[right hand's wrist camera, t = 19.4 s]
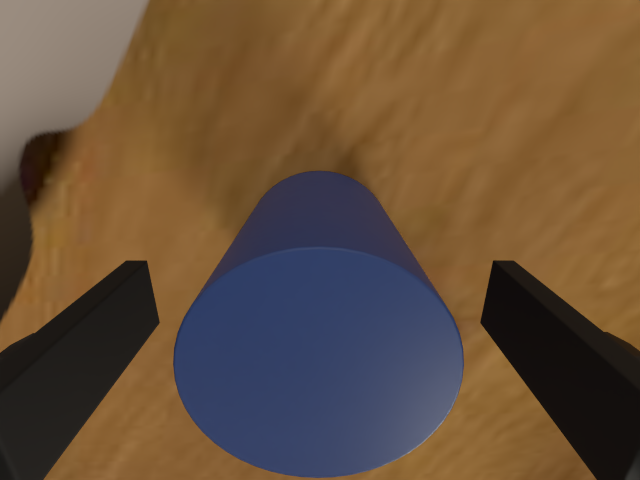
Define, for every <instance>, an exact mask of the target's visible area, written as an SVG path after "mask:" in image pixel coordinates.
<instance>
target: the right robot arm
mask: <svg viewBox="0 0 640 480" xmlns="http://www.w3.org/2000/svg"><path fill="white" fill-rule="evenodd" d="M159 323H160V322H159V317H158V313H157V308H156V303H155V298H154V293H153V288H152V283H151V279H150V274H149V269H148V264H147V261H125V262H124V263H123V264H121V265H120V266H119V267H118V268H116V269H115V270H114V271H113V272H111V273H110V274H109V275H108V276H106V277H105V278H104V279H103V280H101V281H100V282H99V283H97V284H96V285H95V286H94V287H92V288H91V289H90V290H89V291H87V292H86V293H85V294H84V295H82V296H81V297H80V298H79V299H77V300H76V301H75V302H74V303H72V304H71V305H70V306H68V307H67V308H66V309H65V310H63V311H62V312H61V313H60V314H58V315H57V316H56V317H55V318H53V319H52V320H51V321H50V322H48V323H47V324H46V325H45V326H43V327H42V328H41V329H40V330H38V331H37V332H36V333H33V334H31V335H29V336H27V337H25V338H23V339H21V340H19V341H17V342H15V343H13V344H12V345H10V346H9V347H7V348H6V349H5V350H3V351H2V352H1V353H0V480H43V479H44V478H45V476H46V475H47V474H48V472H49V471H50V470H51V468H52V467H53V466H54V464H55V463H56V462H57V460H58V459H59V457H60V456H61V455H62V453H63V452H64V451H65V449H66V448H67V447H68V445H69V444H70V443H71V441H72V440H73V439H74V437H75V436H76V435H77V433H78V432H79V431H80V429H81V428H82V427H83V425H84V424H85V422H86V421H87V420H88V418H89V417H90V416H91V414H92V413H93V412H94V410H95V409H96V408H97V406H98V405H99V404H100V402H101V401H102V400H103V398H104V397H105V396H106V394H107V393H108V392H109V390H110V389H111V387H112V386H113V385H114V383H115V382H116V381H117V379H118V378H119V377H120V375H121V374H122V373H123V371H124V370H125V369H126V367H127V366H128V365H129V363H130V362H131V361H132V359H133V358H134V357H135V355H136V354H137V353H138V351H139V350H140V348H141V347H142V346H143V344H144V343H145V342H146V340H147V339H148V338H149V336H150V335H151V334H152V332H153V331H154V330H155V328H156V327H157V326H158V324H159ZM480 323H481V324H482V326H483V327H484V328H485V330H486V331H487V332H488V334H489V335H490V336H491V338H492V339H493V340H494V342H495V343H496V344H497V346H498V347H499V348H500V350H501V351H502V353H503V354H504V355H505V357H506V358H507V359H508V361H509V362H510V363H511V365H512V366H513V367H514V369H515V370H516V371H517V373H518V374H519V375H520V377H521V378H522V379H523V381H524V382H525V383H526V385H527V386H528V388H529V389H530V390H531V392H532V393H533V394H534V396H535V397H536V398H537V400H538V401H539V402H540V404H541V405H542V406H543V408H544V409H545V410H546V412H547V413H548V414H549V416H550V417H551V418H552V420H553V421H554V423H555V424H556V425H557V427H558V428H559V429H560V431H561V432H562V433H563V435H564V436H565V437H566V439H567V440H568V441H569V443H570V444H571V445H572V447H573V448H574V449H575V451H576V452H577V453H578V455H579V456H580V457H581V459H582V460H583V462H584V463H585V464H586V466H587V467H588V468H589V470H590V471H591V472H592V474H593V475H594V476H595V478H596V479H597V480H640V351H639V350H637V349H636V348H635V347H633V346H632V345H631V344H629V343H627V342H626V341H624V340H622V339H620V338H618V337H616V336H614V335H612V334H610V333H608V332H603V331H602V330H600V329H599V328H598V327H597V326H595V325H594V324H593V323H592V322H590V321H589V320H588V319H587V318H585V317H584V316H583V315H582V314H580V313H579V312H578V311H577V310H575V309H574V308H573V307H571V306H570V305H569V304H568V303H566V302H565V301H564V300H563V299H561V298H560V297H559V296H558V295H556V294H555V293H554V292H553V291H551V290H550V289H549V288H548V287H546V286H545V285H544V284H543V283H541V282H540V281H539V280H537V279H536V278H535V277H534V276H532V275H531V274H530V273H529V272H527V271H526V270H525V269H524V268H522V267H521V266H520V265H519V264H517V263H516V262H515V261H493V264H492V269H491V274H490V279H489V283H488V288H487V293H486V298H485V303H484V308H483V312H482V317H481V322H480Z"/></svg>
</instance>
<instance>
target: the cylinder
mask: <svg viewBox="0 0 640 480" xmlns="http://www.w3.org/2000/svg"><path fill="white" fill-rule="evenodd" d="M173 365H174V375H175V382H176V385H177V389H178V393H179V395H180V398H181V400H182V402H183V404H184V407H185V409H186V410H187V412H188V413H189V415H190V416H191V418H192V420H193V421H194V422H195V423H196V425H197V426H198V427H199V428H200V429H201V431H202V432H203V433H204V434H205V435H206V436H208V437H209V438H210V439H211V440H212V441H213V442H214V443H215V444H217V445H218V446H219V447H221V448H222V449H224V450H225V451H226V452H228V453H230V454H231V455H233V456H235V457H237V458H238V459H240V460H242V461H245V462H247V463H249V464H251V465H254V466H256V467H259V468H262V469H265V470H268V471H272V472H276V473H280V474H285V475H291V476H298V477H313V478H324V477H339V476H346V475H352V474H357V473H361V472H366V471H369V470H372V469H375V468H378V467H381V466H384V465H386V464H388V463H390V462H393V461H395V460H397V459H399V458H400V457H402V456H404V455H406V454H407V453H409V452H411V451H412V450H414V449H415V448H416V447H418V446H419V445H420V444H422V443H423V442H424V441H425V440H426V439H427V438H429V437H430V436H431V435H432V434H433V433H434V432H435V431H436V429H437V428H438V427H439V426H440V425H441V424H442V422H443V421H444V420H445V418H446V417H447V415H448V414H449V412H450V410H451V409H452V407H453V405H454V402H455V400H456V398H457V396H458V393H459V389H460V386H461V382H462V376H463V367H464V359H463V346H462V342H461V337H460V333H459V331H458V328H457V326H456V323H455V321H454V318H453V317H452V315H451V313H450V312H449V310H448V308H447V307H446V305H445V303H444V302H443V300H442V299H441V297H440V296H439V294H438V293H437V291H436V289H435V288H434V286H433V285H432V283H431V282H430V280H429V279H428V277H427V276H426V274H425V272H424V271H423V269H422V268H421V266H420V265H419V263H418V262H417V260H416V258H415V257H414V255H413V254H412V252H411V251H410V249H409V248H408V246H407V245H406V243H405V241H404V240H403V238H402V237H401V235H400V234H399V232H398V231H397V229H396V227H395V226H394V224H393V223H392V221H391V220H390V218H389V217H388V215H387V214H386V212H385V210H384V209H383V207H382V206H381V204H380V203H379V201H378V200H377V199H376V197H375V196H374V195H373V194H372V193H371V192H370V191H369V190H368V189H367V188H366V187H365V186H363V185H362V184H360V183H359V182H357V181H355V180H353V179H352V178H350V177H347V176H344V175H341V174H338V173H333V172H327V171H311V172H305V173H300V174H297V175H294V176H291V177H288V178H286V179H284V180H282V181H281V182H279V183H278V184H276V185H275V186H273V187H272V188H271V189H270V190H269V191H268V192H267V193H266V194H265V195H264V196H263V197H262V199H261V200H260V201H259V203H258V204H257V206H256V207H255V209H254V210H253V212H252V213H251V215H250V216H249V218H248V220H247V221H246V223H245V224H244V226H243V227H242V229H241V230H240V232H239V233H238V235H237V236H236V238H235V239H234V241H233V243H232V244H231V246H230V247H229V249H228V250H227V252H226V253H225V255H224V256H223V258H222V259H221V261H220V262H219V264H218V266H217V267H216V269H215V270H214V272H213V273H212V275H211V276H210V278H209V279H208V281H207V282H206V284H205V285H204V287H203V288H202V290H201V292H200V293H199V295H198V296H197V298H196V299H195V301H194V302H193V304H192V305H191V307H190V309H189V310H188V312H187V313H186V315H185V317H184V319H183V321H182V324H181V326H180V328H179V331H178V334H177V338H176V343H175V347H174V361H173Z"/></svg>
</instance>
